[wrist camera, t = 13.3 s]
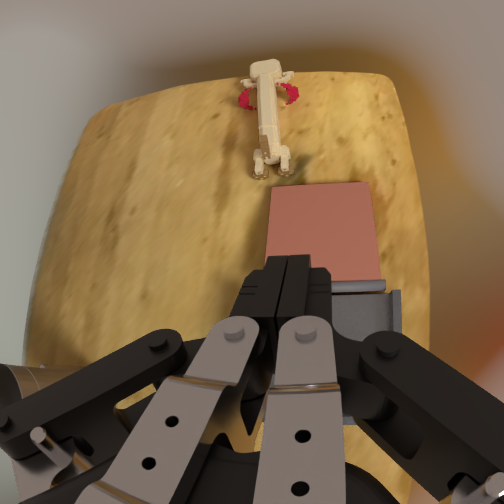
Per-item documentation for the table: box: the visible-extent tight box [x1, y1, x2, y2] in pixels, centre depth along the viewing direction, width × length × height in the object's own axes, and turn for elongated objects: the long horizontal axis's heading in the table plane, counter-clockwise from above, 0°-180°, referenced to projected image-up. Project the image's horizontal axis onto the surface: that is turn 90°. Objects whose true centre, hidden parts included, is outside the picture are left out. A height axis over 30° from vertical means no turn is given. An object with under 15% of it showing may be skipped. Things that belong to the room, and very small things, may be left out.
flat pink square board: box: [265, 182, 386, 292], centre depth 37 cm, size 2×14×15 cm
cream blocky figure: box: [238, 59, 299, 180], centre depth 44 cm, size 10×9×25 cm
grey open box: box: [262, 290, 402, 425], centre depth 32 cm, size 14×17×5 cm
